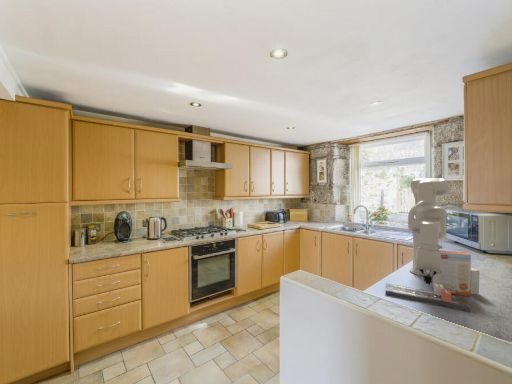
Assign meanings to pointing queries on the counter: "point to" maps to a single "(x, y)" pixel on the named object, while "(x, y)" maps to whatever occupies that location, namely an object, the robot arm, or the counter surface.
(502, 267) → the counter surface
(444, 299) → the rust fader
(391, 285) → the console
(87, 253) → the counter surface
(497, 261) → the counter surface
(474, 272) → the skincare box
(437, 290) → the block
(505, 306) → the counter surface
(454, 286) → the cracker box
